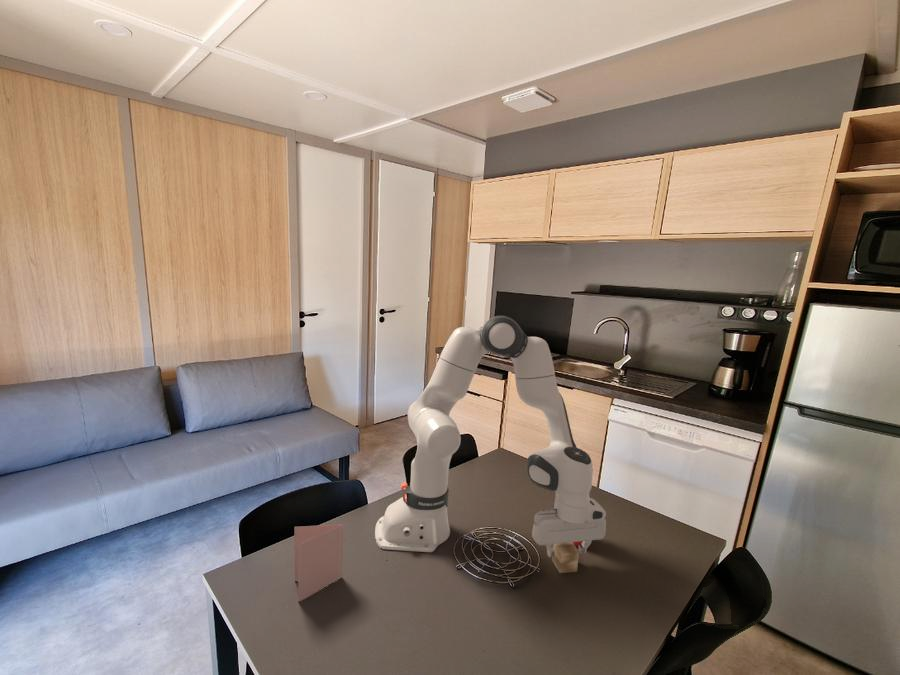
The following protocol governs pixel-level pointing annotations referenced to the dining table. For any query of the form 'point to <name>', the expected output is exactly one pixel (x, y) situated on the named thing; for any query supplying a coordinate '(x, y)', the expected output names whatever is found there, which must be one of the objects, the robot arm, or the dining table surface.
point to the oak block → (565, 557)
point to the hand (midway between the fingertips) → (566, 553)
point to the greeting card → (317, 557)
